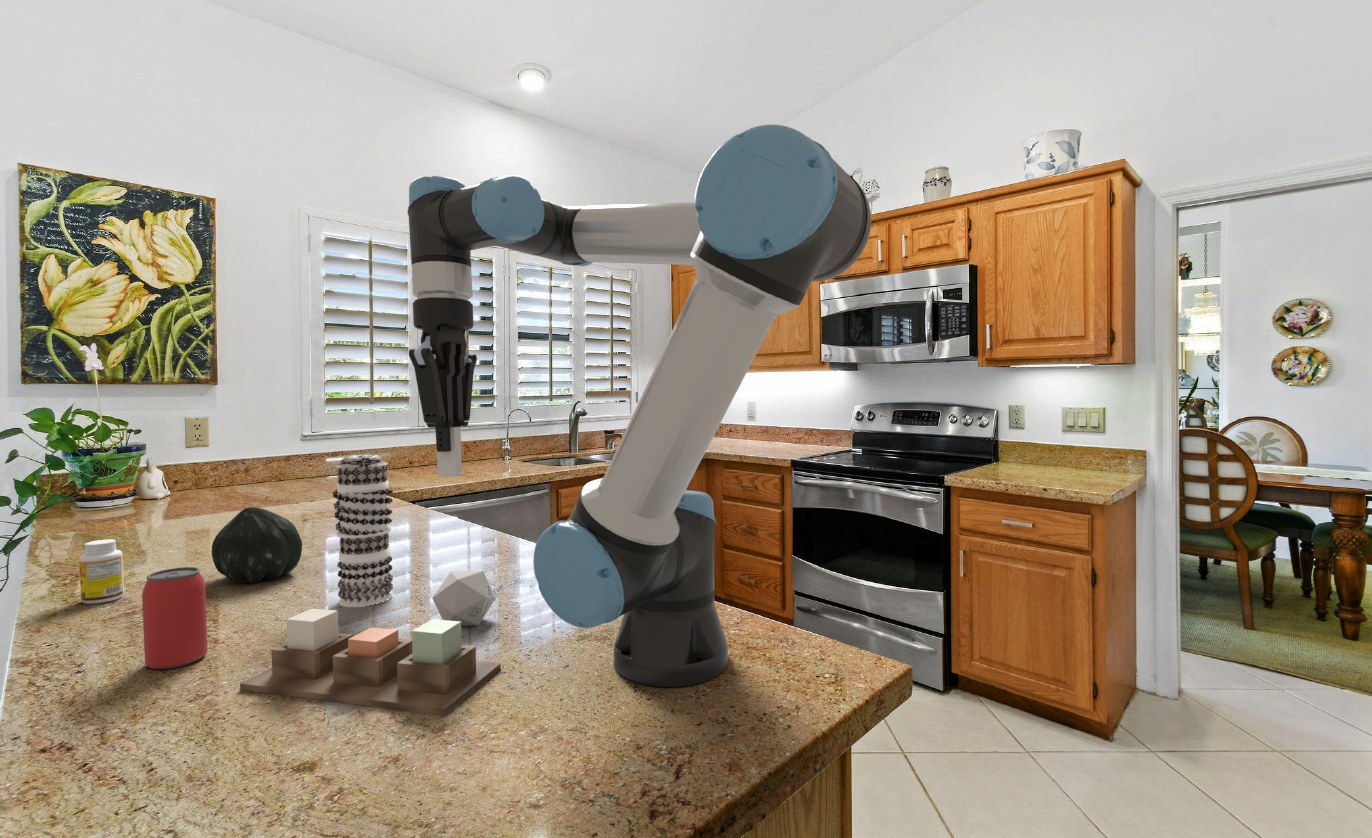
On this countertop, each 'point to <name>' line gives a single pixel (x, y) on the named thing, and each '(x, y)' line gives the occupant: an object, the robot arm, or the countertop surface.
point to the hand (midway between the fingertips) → (450, 475)
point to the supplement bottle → (101, 572)
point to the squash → (256, 546)
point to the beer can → (174, 618)
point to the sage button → (436, 641)
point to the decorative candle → (363, 531)
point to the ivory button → (312, 629)
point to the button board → (373, 677)
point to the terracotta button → (373, 642)
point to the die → (464, 597)
